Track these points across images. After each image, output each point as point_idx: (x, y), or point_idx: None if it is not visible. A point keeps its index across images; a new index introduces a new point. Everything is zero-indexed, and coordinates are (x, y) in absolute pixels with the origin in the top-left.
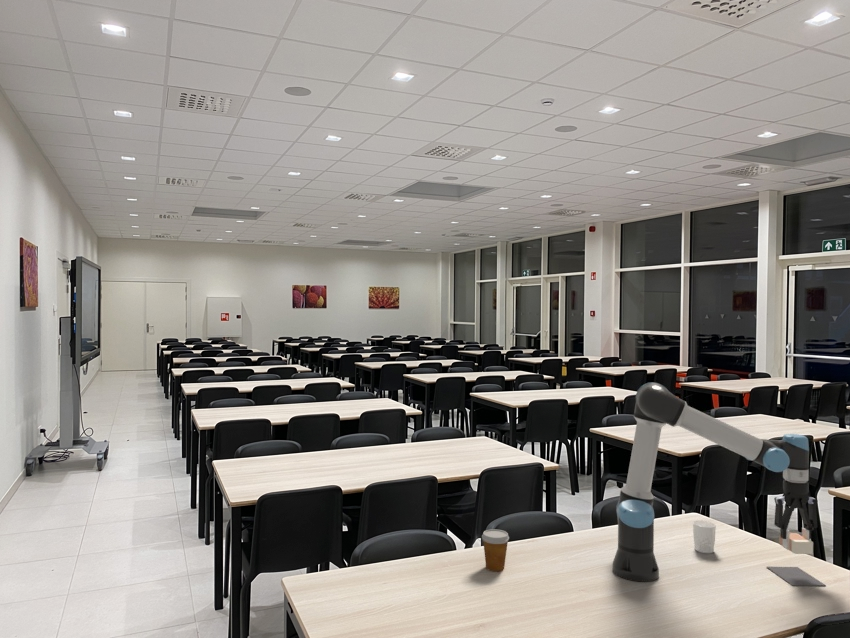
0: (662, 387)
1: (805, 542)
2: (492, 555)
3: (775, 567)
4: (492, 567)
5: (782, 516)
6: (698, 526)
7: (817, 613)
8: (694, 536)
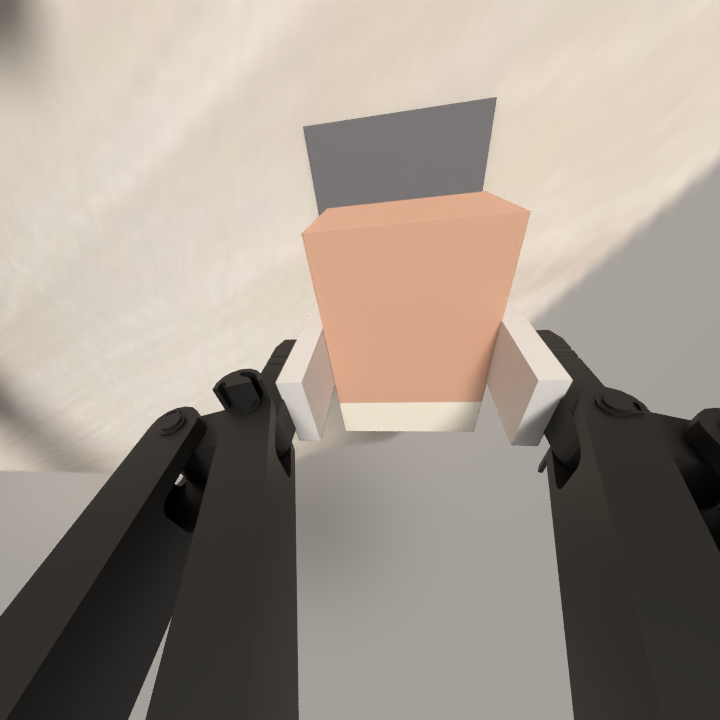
0: None
1: (416, 429)
2: None
3: (350, 134)
4: None
5: (166, 625)
6: None
7: (333, 445)
8: None
